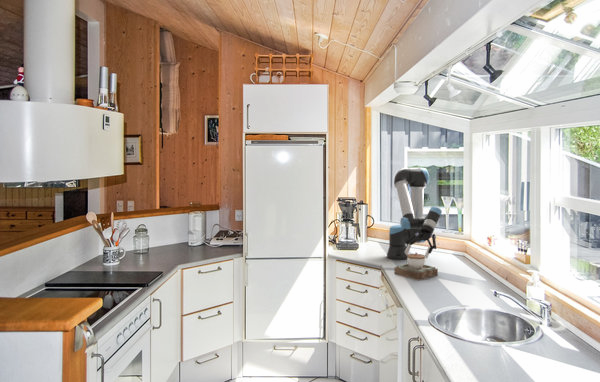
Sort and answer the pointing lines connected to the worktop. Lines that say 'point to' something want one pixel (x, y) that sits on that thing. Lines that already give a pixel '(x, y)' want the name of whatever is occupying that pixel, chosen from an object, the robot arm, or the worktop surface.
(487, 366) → the worktop surface
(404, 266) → the tray
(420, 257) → the lidded jar
